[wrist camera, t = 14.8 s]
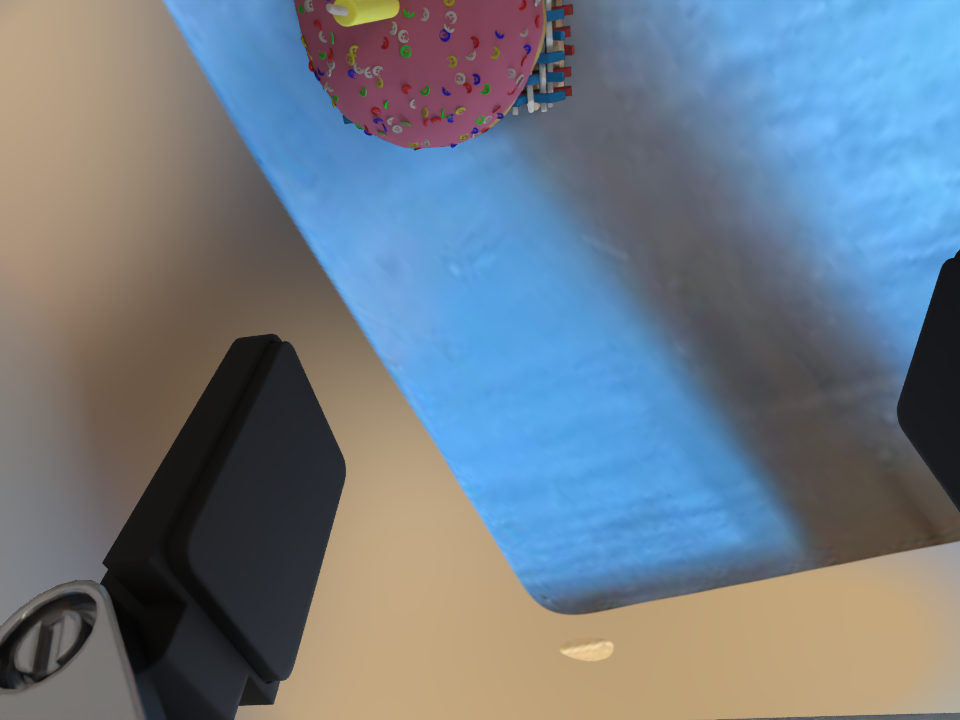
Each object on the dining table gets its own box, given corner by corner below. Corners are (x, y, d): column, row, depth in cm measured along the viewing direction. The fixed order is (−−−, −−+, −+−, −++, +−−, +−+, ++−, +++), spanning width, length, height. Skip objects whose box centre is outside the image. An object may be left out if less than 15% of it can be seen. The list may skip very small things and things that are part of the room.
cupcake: (281, -12, 25) (148, 60, 15) (434, -200, 21) (384, -259, 12) (430, 150, 29) (397, 287, 19) (581, 14, 25) (631, 100, 16)
